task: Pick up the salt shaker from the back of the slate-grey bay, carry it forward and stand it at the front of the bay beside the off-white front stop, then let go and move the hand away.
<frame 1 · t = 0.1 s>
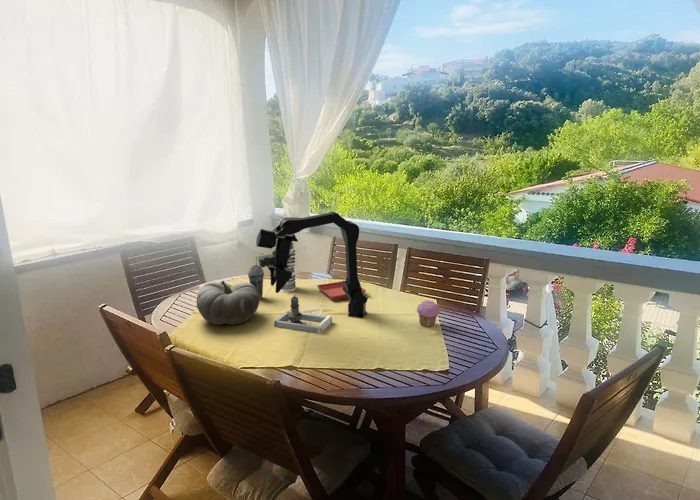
hand: (274, 288, 192), 15 cm above the table, fingers open, 9 cm apart
plant saucer: (341, 294, 232), on the table
decorative candle: (287, 289, 238), on the table
cupcake: (427, 325, 196), on the table
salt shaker: (295, 323, 198), resting in bay
gourd: (230, 319, 203), on the table
bay: (303, 324, 197), on the table
beverage cup: (257, 298, 226), on the table
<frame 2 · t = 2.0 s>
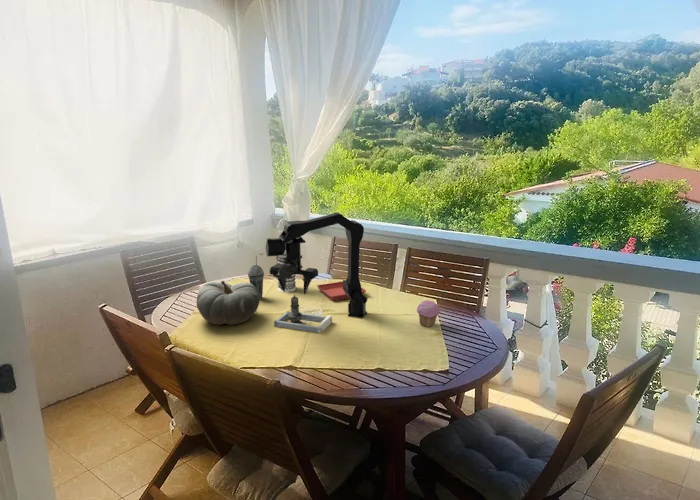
hand: (294, 292, 195), 13 cm above the table, fingers open, 9 cm apart
nothing on the table moved.
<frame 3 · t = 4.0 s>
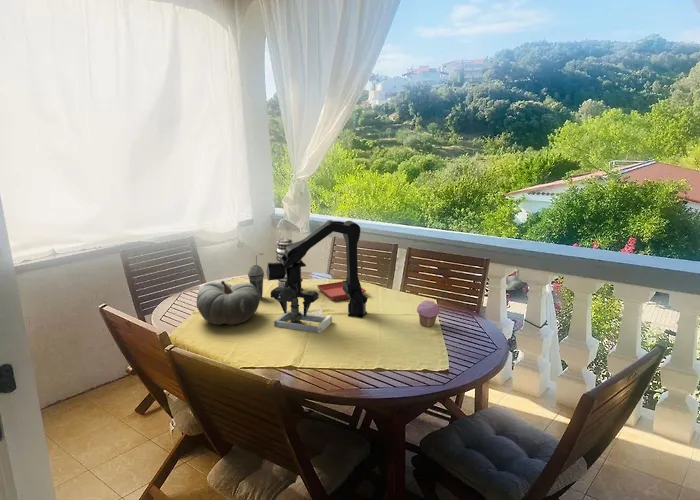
hand: (295, 314, 197), 4 cm above the table, fingers closed on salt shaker, 8 cm apart
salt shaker: (295, 323, 198), resting in bay, touching gripper
everything else where it was.
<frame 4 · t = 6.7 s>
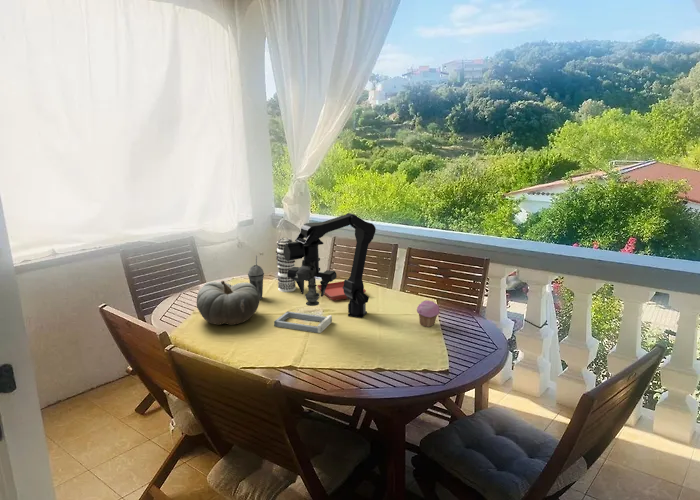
hand: (312, 295, 192), 13 cm above the table, fingers closed on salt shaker, 8 cm apart
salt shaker: (312, 304, 193), point 9 cm above the table, touching gripper
everything else where it was.
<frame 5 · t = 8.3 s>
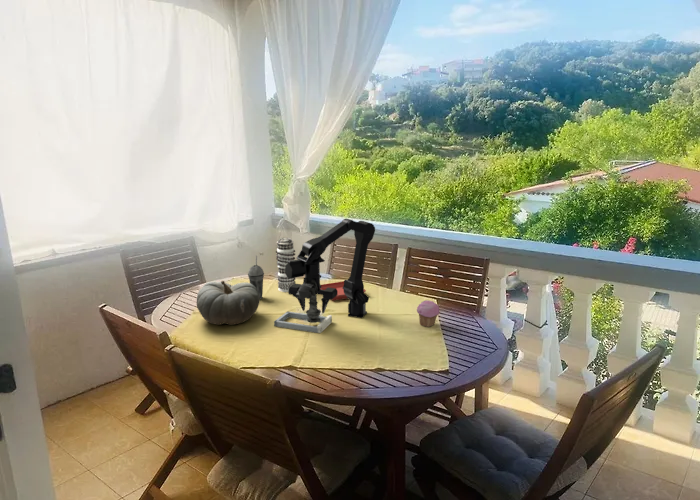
hand: (313, 311, 194), 6 cm above the table, fingers closed on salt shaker, 8 cm apart
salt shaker: (313, 320, 195), point 2 cm above the table, touching gripper
everything else where it was.
when the fingers open (5 cm above the table, at t = 9.7 s): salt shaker drops 1 cm, resting in bay.
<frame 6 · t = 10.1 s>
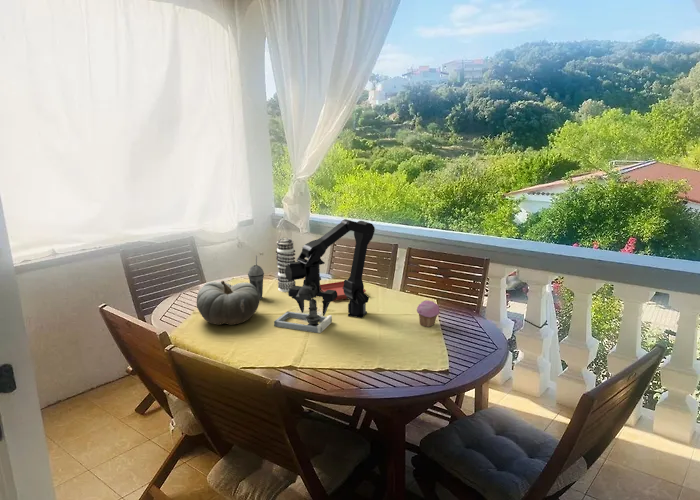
hand: (313, 313, 194), 5 cm above the table, fingers open, 9 cm apart
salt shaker: (313, 326, 195), resting in bay
everything else where it was.
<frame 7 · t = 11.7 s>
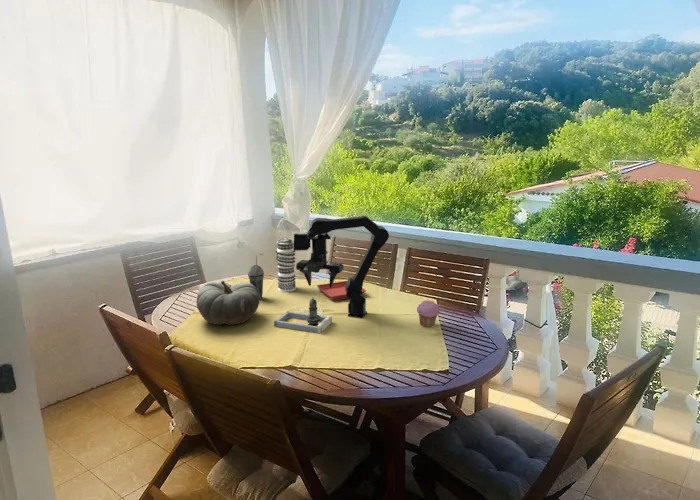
hand: (320, 286, 202), 13 cm above the table, fingers open, 9 cm apart
nothing on the table moved.
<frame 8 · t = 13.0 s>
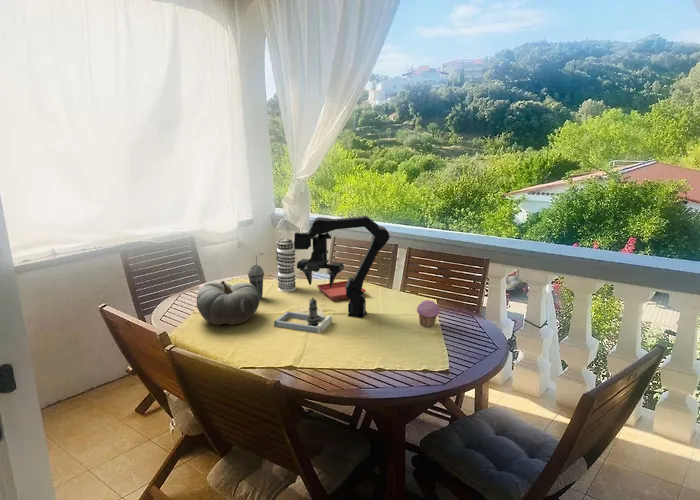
hand: (320, 285, 203), 13 cm above the table, fingers open, 9 cm apart
nothing on the table moved.
at the end: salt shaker 0.0 cm from the target spot on the bay, point 0.0 cm above the bay's base; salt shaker tilted 0°; the gripper is holding nothing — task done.
